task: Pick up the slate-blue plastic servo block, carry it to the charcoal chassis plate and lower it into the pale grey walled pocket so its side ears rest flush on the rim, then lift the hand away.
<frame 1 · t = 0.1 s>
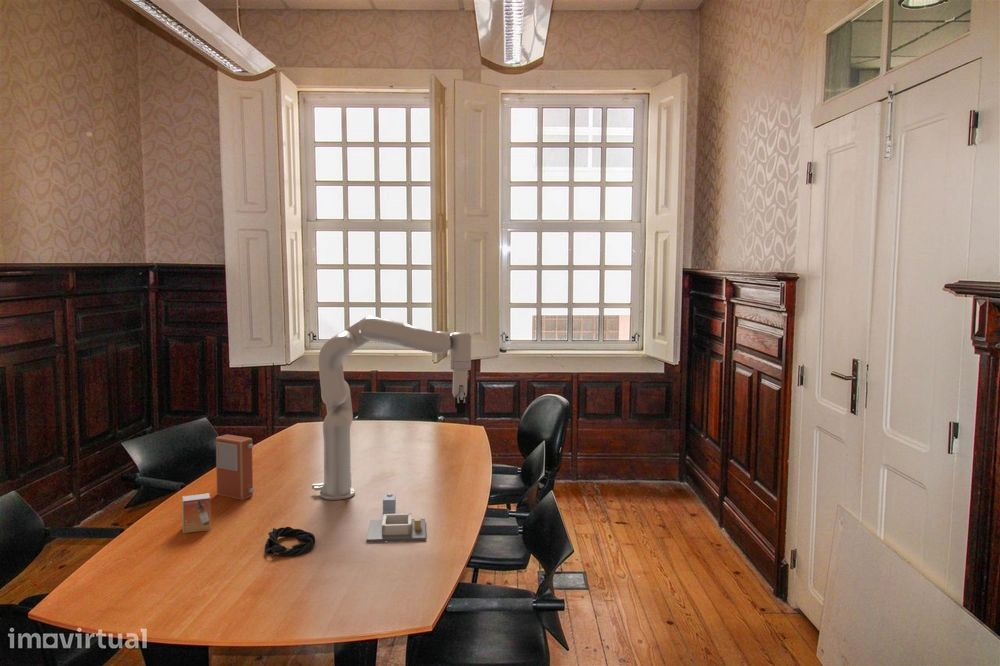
hand: (460, 410, 246), 31 cm above the table, tool pointing down, fingers open, 9 cm apart
servo: (389, 517, 222), on the table
orange electrical enclosure: (234, 495, 240), on the table
cable: (291, 546, 198), on the table
small box: (196, 529, 208), on the table
chassis: (397, 531, 209), on the table
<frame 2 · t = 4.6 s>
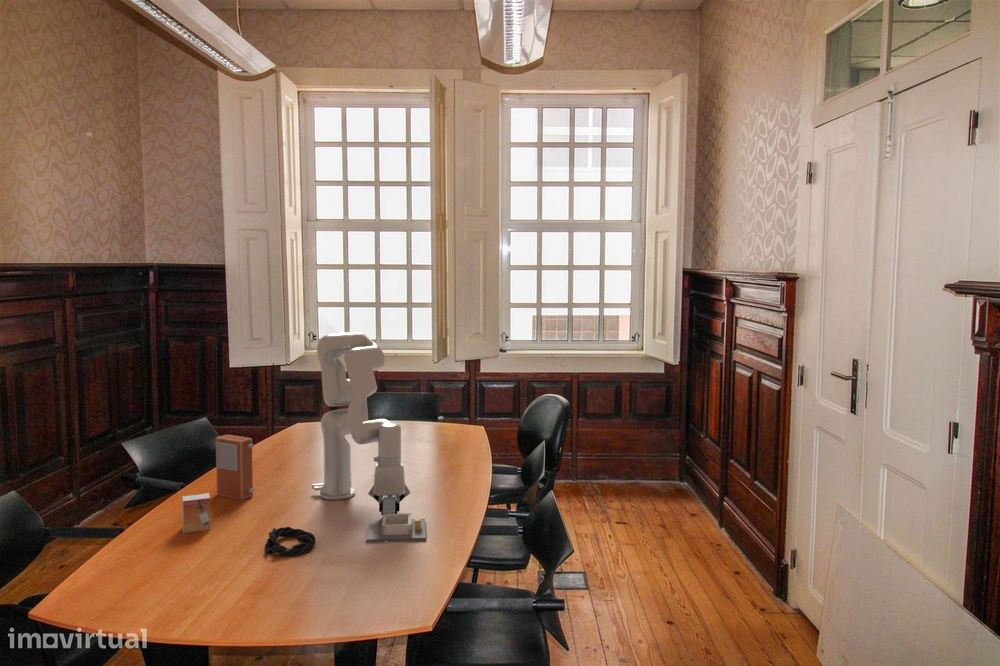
hand: (389, 513, 222), 1 cm above the table, tool pointing down, fingers closed on servo, 4 cm apart
servo: (389, 517, 222), on the table, touching gripper
everything else where it was.
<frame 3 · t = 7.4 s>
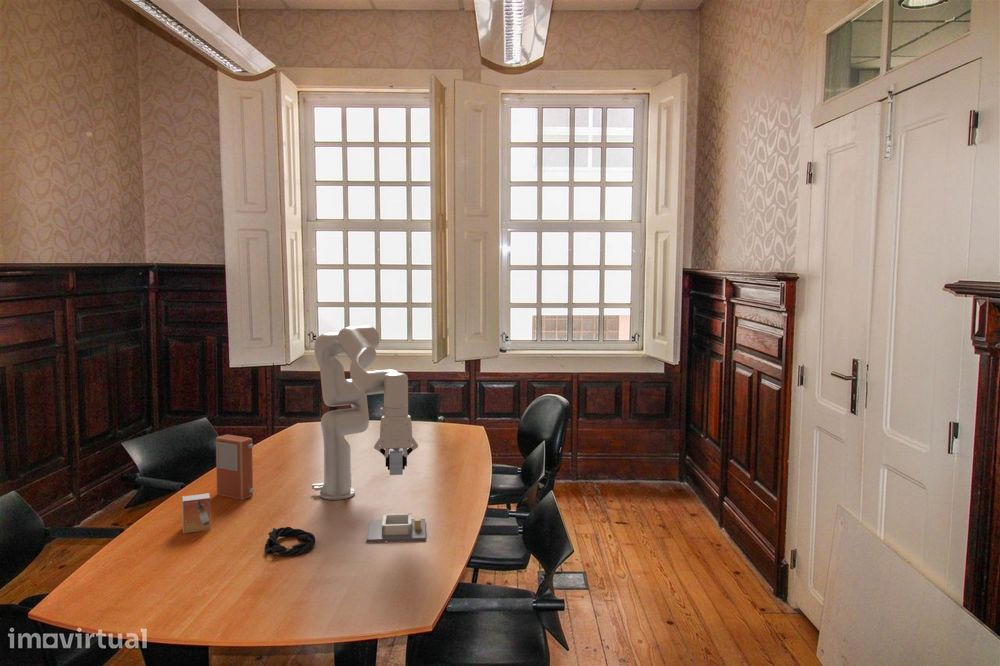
hand: (396, 468, 210), 20 cm above the table, tool pointing down, fingers closed on servo, 4 cm apart
servo: (396, 472, 210), point 19 cm above the table, touching gripper
everything else where it was.
when the fingers open (4 cm above the table, at t = 10.1 s): servo drops 2 cm, resting on chassis.
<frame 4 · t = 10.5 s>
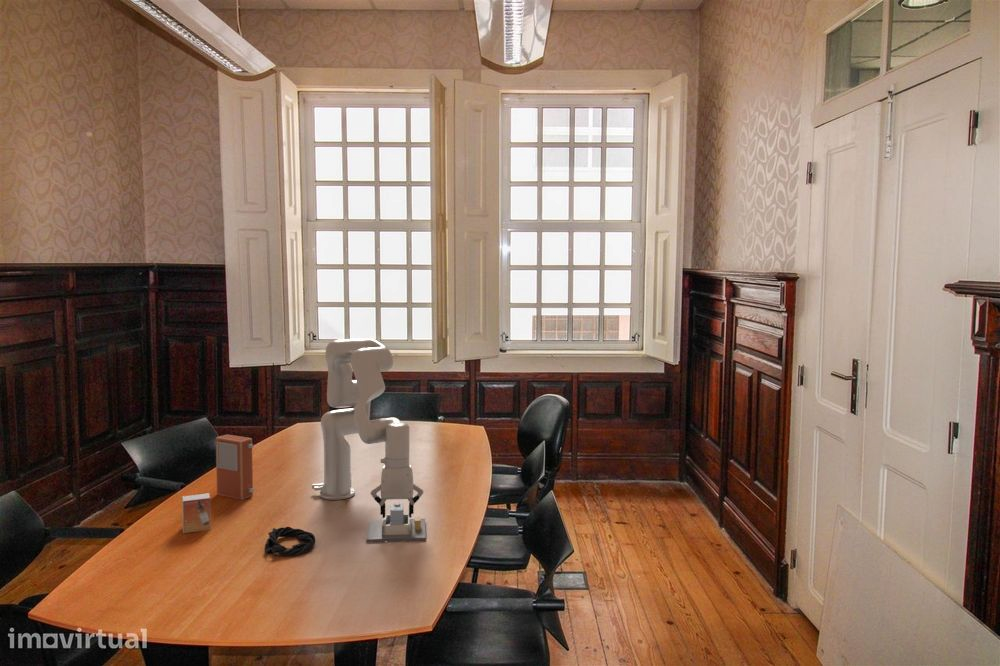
hand: (397, 516, 209), 5 cm above the table, tool pointing down, fingers open, 7 cm apart
servo: (397, 528, 209), point 1 cm above the table, touching chassis
everything else where it was.
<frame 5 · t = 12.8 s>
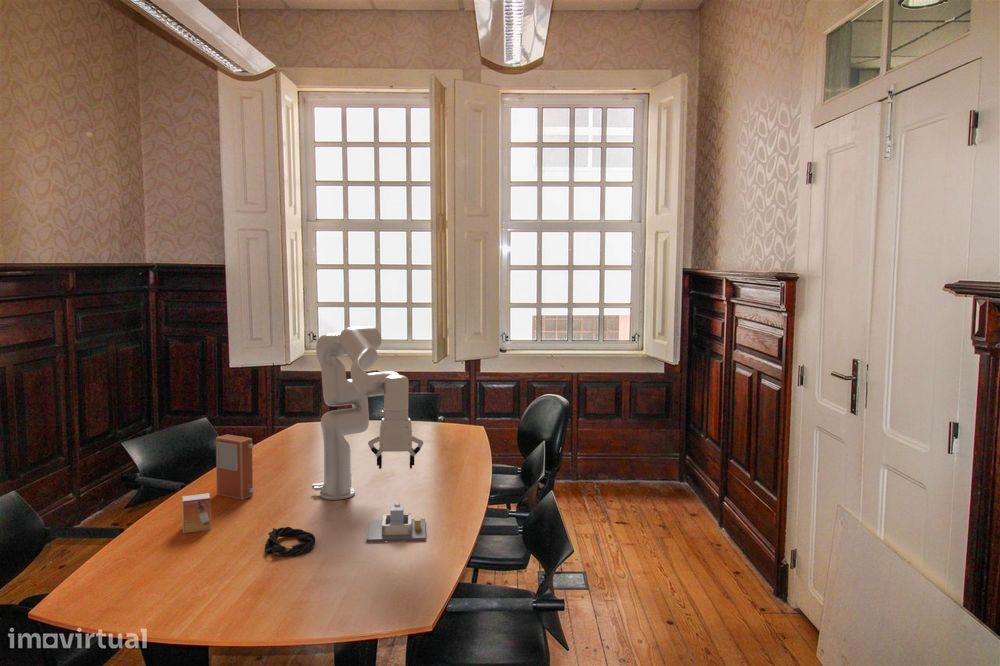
hand: (395, 467, 209), 20 cm above the table, tool pointing down, fingers open, 9 cm apart
nothing on the table moved.
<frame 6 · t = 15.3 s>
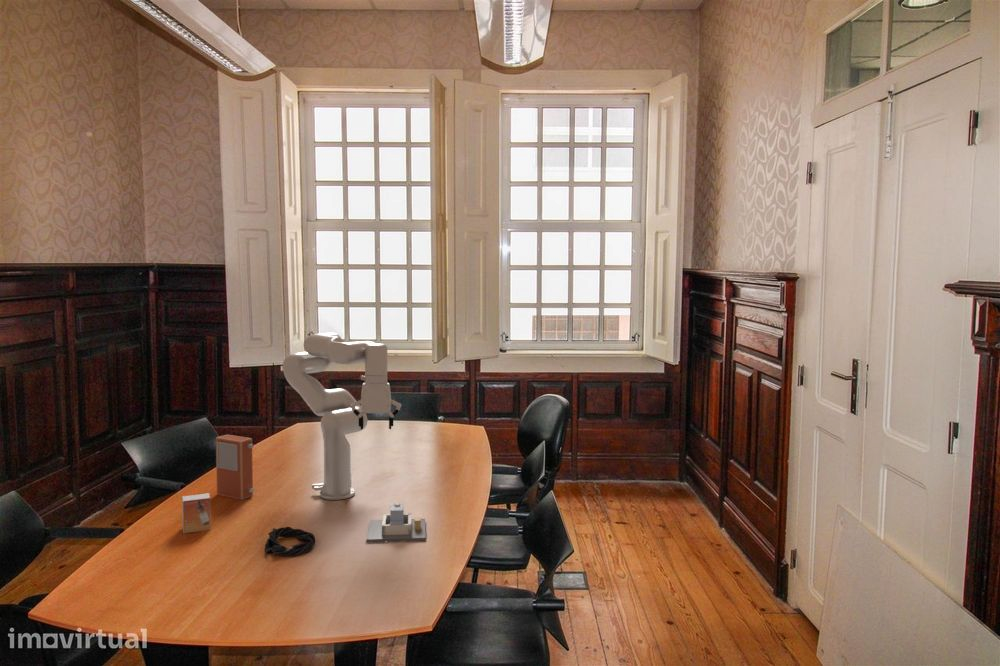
hand: (376, 428, 228), 28 cm above the table, tool pointing down, fingers open, 9 cm apart
nothing on the table moved.
at the end: servo 0.0 cm off-centre on the chassis, point 1.0 cm above the chassis's base; servo tilted 0°; the gripper is holding nothing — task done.
